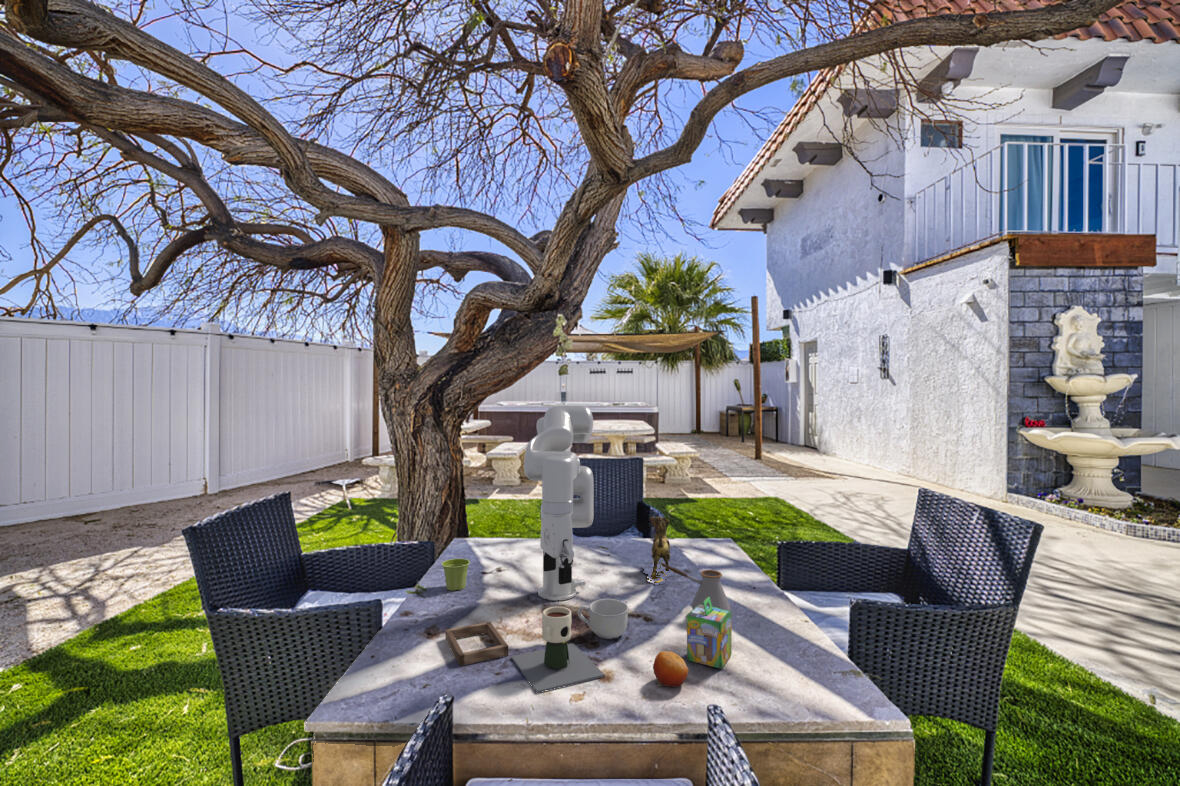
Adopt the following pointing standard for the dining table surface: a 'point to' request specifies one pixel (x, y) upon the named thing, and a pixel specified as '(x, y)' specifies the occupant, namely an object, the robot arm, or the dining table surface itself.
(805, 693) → the dining table surface
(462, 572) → the plant pot
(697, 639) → the chalk box
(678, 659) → the fruit
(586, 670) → the rubber mat
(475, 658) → the collar
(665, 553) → the figurine
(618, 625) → the teacup
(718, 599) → the coffee pot
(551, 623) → the character mug
